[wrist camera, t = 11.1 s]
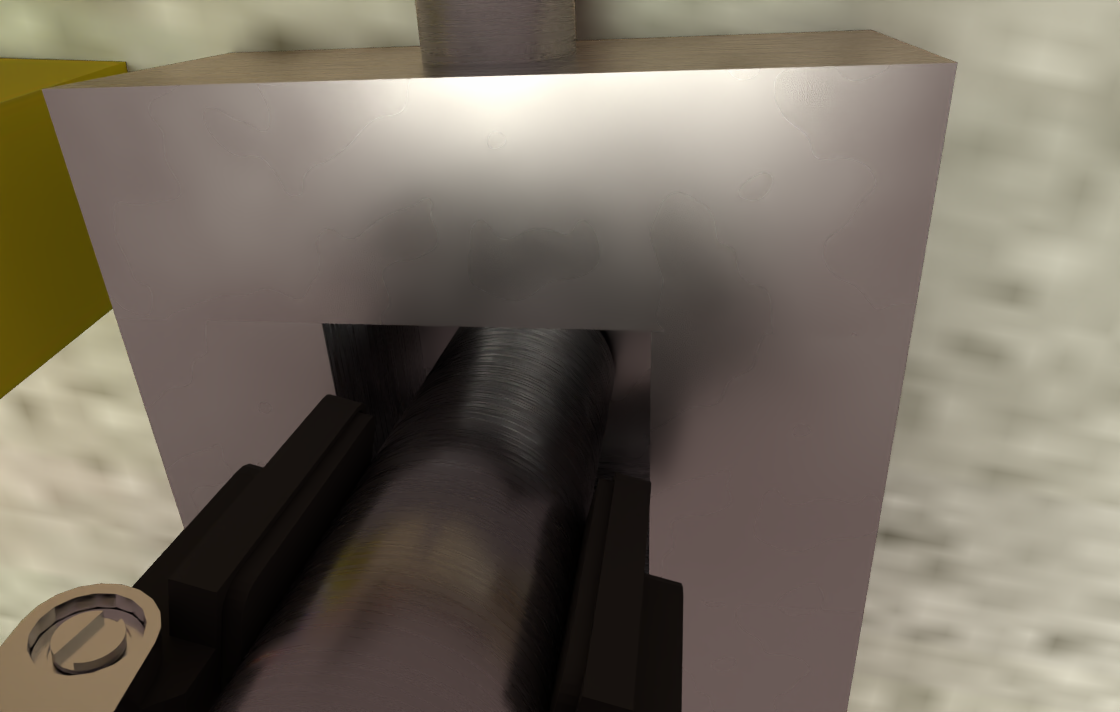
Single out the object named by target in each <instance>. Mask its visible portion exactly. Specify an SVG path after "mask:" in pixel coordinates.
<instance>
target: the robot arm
mask: <svg viewBox="0 0 1120 712" xmlns="http://www.w3.org/2000/svg"><path fill="white" fill-rule="evenodd" d="M375 427H376V418H375V417H374V416H371V415H368V414H366V406H365V404H364V403H360V402H357V401H353V400H349V399H346V398H342V397H338V396H335V395H331V394H328V395H326V396H325V397H324V398H323V399H322V400H321V401H320V402H319V403H318V404H317V406H316V407H315V408H314V409H313V410H312V411H311V413H310V414H309V415H308V416H307V417H306V418H305V420H304V421H303V422H302V423H301V424H300V425H299V427H298V428H297V429H296V430H295V431H294V432H293V434H292V435H291V436H290V437H289V438H288V439H287V441H286V442H285V443H284V444H283V445H282V446H281V448H280V449H279V450H278V451H277V452H276V453H275V455H274V456H273V457H272V458H271V459H270V460H269V462H268V463H267V464H266V465H265V466H264V467H260V466H257V465H253V464H247V465H243V466H242V467H241V468H240V469H239V470H238V471H237V472H236V473H235V474H234V475H233V476H232V477H231V478H230V479H229V480H228V481H227V483H226V484H225V485H224V486H223V487H222V488H221V489H220V490H219V491H218V493H217V494H216V495H215V496H214V497H213V498H212V499H211V500H210V501H209V502H208V504H207V505H206V506H205V507H204V508H203V509H202V510H201V511H200V512H199V514H198V515H197V516H196V517H195V518H194V519H193V520H192V521H191V522H190V523H189V525H188V526H187V527H186V528H185V529H184V530H183V531H182V532H181V533H180V535H179V536H178V537H177V538H176V539H175V540H174V541H173V542H172V543H171V545H170V546H169V547H168V548H167V549H166V550H165V551H164V552H163V553H162V554H161V556H160V557H159V558H158V559H157V560H156V561H155V562H154V563H153V564H152V566H151V567H150V568H149V569H148V570H147V571H146V572H145V573H144V574H143V575H142V577H141V578H140V579H139V580H138V581H137V582H136V583H135V584H134V585H133V587H129V586H125V585H122V584H103V583H101V584H94V585H88V586H81V587H77V588H74V589H71V590H68V591H66V592H63V593H60V594H57V595H55V596H54V597H52V598H50V599H48V600H47V601H45V602H43V603H42V604H40V605H38V606H37V607H36V608H35V609H34V610H32V611H31V612H30V613H29V614H28V615H27V616H26V617H25V618H24V619H23V620H22V621H21V622H20V623H19V624H18V626H17V627H16V628H15V629H14V630H13V632H12V633H11V634H10V635H9V637H8V638H7V639H6V640H5V641H4V643H3V644H2V645H1V646H0V712H209V711H210V709H211V708H212V706H213V705H214V703H215V702H216V700H217V699H218V697H219V696H220V694H221V693H222V691H223V689H224V688H225V686H226V685H227V683H228V682H229V680H230V679H231V677H232V676H233V674H234V673H235V671H236V669H237V668H238V666H239V665H240V663H241V662H242V660H243V659H244V657H245V656H246V654H247V653H248V651H249V649H250V648H251V646H252V645H253V643H254V642H255V640H256V639H257V637H258V636H259V634H260V633H261V631H262V629H263V628H264V626H265V625H266V623H267V622H268V620H269V619H270V617H271V616H272V614H273V612H274V611H275V609H276V608H277V606H278V605H279V603H280V602H281V600H282V599H283V597H284V596H285V594H286V592H287V591H288V589H289V588H290V586H291V585H292V583H293V582H294V580H295V579H296V577H297V576H298V574H299V572H300V571H301V569H302V568H303V566H304V565H305V563H306V562H307V560H308V559H309V557H310V556H311V554H312V552H313V551H314V549H315V548H316V546H317V545H318V543H319V542H320V540H321V539H322V537H323V536H324V534H325V532H326V531H327V529H328V528H329V526H330V525H331V523H332V522H333V520H334V519H335V517H336V516H337V514H338V512H339V511H340V509H341V508H342V506H343V505H344V503H345V502H346V500H347V499H348V497H349V496H350V494H351V492H352V491H353V489H354V488H355V486H356V485H357V483H358V482H359V480H360V479H361V477H362V476H363V474H364V472H365V471H366V469H367V468H368V466H369V465H370V463H371V459H372V451H373V443H374V435H375ZM650 497H651V482H650V481H647V480H643V479H639V478H636V477H632V476H628V475H625V474H621V473H617V472H616V473H615V474H614V477H613V480H612V481H610V480H606V479H602V478H599V480H598V483H597V486H596V489H595V492H594V496H593V499H592V502H591V506H590V509H589V512H588V516H587V519H586V523H585V528H584V533H583V538H582V543H581V548H580V553H579V559H578V564H577V569H576V574H575V579H574V584H573V589H572V595H571V600H570V605H569V610H568V615H567V620H566V625H565V631H564V636H563V641H562V646H561V651H560V656H559V661H558V666H557V672H556V677H555V682H554V687H553V692H552V697H551V702H550V708H549V712H682V659H683V597H684V595H683V586H682V583H679V582H676V581H672V580H669V579H665V578H661V577H658V576H654V575H651V574H647V573H644V570H645V558H646V546H647V533H648V521H649V509H650Z"/></svg>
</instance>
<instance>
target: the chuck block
mask: <svg viewBox="0 0 1120 712" xmlns="http://www.w3.org/2000/svg"><path fill="white" fill-rule="evenodd" d="M415 5H416V13H417V22H418V30H419V39H420V46H407V47H379V48H351V49H323V50H295V51H268V52H240V53H227V54H221V55H216V56H211V57H206V58H201V59H196V60H190V61H185V62H180V63H175V64H170V65H164V66H159V67H154V68H149V69H144V70H139V71H133V72H128V73H123V74H118V75H113V76H107V77H102V78H97V79H92V80H87V81H82V82H76V83H71V84H66V85H61V86H56V87H50V88H45V89H42V92H43V95H44V98H45V101H46V104H47V107H48V111H49V114H50V117H51V120H52V123H53V126H54V129H55V132H56V135H57V138H58V141H59V144H60V147H61V151H62V154H63V157H64V160H65V163H66V166H67V169H68V172H69V175H70V178H71V181H72V184H73V187H74V191H75V194H76V197H77V200H78V203H79V206H80V209H81V212H82V215H83V218H84V221H85V224H86V227H87V231H88V234H89V237H90V240H91V243H92V246H93V249H94V252H95V255H96V258H97V261H98V264H99V267H100V271H101V274H102V277H103V280H104V283H105V286H106V289H107V292H108V295H109V298H110V301H111V304H112V307H113V311H114V314H115V317H116V320H117V323H118V326H119V329H120V332H121V335H122V338H123V341H124V344H125V347H126V350H127V354H128V357H129V360H130V363H131V366H132V369H133V372H134V375H135V378H136V381H137V384H138V387H139V390H140V394H141V397H142V400H143V403H144V406H145V409H146V412H147V415H148V418H149V421H150V424H151V427H152V430H153V434H154V437H155V440H156V443H157V446H158V449H159V452H160V455H161V458H162V461H163V464H164V467H165V470H166V474H167V477H168V480H169V483H170V486H171V489H172V492H173V495H174V498H175V501H176V504H177V507H178V510H179V514H180V517H181V520H182V523H183V526H184V529H185V528H186V527H187V526H188V525H189V523H190V522H191V521H192V520H193V519H194V518H195V517H196V516H197V515H198V514H199V512H200V511H201V510H202V509H203V508H204V507H205V506H206V505H207V504H208V502H209V501H210V500H211V499H212V498H213V497H214V496H215V495H216V494H217V493H218V491H219V490H220V489H221V488H222V487H223V486H224V485H225V484H226V483H227V481H228V480H229V479H230V478H231V477H232V476H233V475H234V474H235V473H236V472H237V471H238V470H239V469H240V468H241V467H242V466H243V465H247V464H253V465H257V466H260V467H264V466H265V465H266V464H267V463H268V462H269V460H270V459H271V458H272V457H273V456H274V455H275V453H276V452H277V451H278V450H279V449H280V448H281V446H282V445H283V444H284V443H285V442H286V441H287V439H288V438H289V437H290V436H291V435H292V434H293V432H294V431H295V430H296V429H297V428H298V427H299V425H300V424H301V423H302V422H303V421H304V420H305V418H306V417H307V416H308V415H309V414H310V413H311V411H312V410H313V409H314V408H315V407H316V406H317V404H318V403H319V402H320V401H321V400H322V399H323V398H324V397H325V396H326V395H328V394H331V395H335V396H338V397H342V398H346V399H349V400H353V401H357V402H360V403H364V404H365V406H366V414H368V415H371V416H374V417H375V418H376V427H375V435H374V443H373V451H372V459H371V462H372V460H373V459H374V457H375V456H376V454H377V452H378V451H379V449H380V448H381V446H382V445H383V443H384V442H385V440H386V439H387V437H388V436H389V434H390V432H391V431H392V429H393V428H394V426H395V425H396V423H397V422H398V420H399V419H400V417H401V416H402V414H403V412H404V411H405V409H406V408H407V406H408V405H409V403H410V402H411V400H412V399H413V397H414V396H415V394H416V392H417V391H418V389H419V388H420V386H421V385H422V383H423V382H424V380H425V379H426V377H427V376H428V374H429V372H430V371H431V369H432V368H433V366H434V365H435V363H436V362H437V360H438V359H439V357H440V356H441V354H442V352H443V351H444V349H445V348H446V346H447V345H448V343H449V342H450V340H451V339H452V337H453V336H454V334H455V332H456V331H457V329H458V328H459V327H502V328H546V329H589V330H599V331H600V333H601V334H602V336H603V337H604V339H605V341H606V343H607V345H608V347H609V350H610V352H611V355H612V359H613V364H614V386H613V391H612V397H611V402H610V407H609V412H608V418H607V423H606V428H605V433H604V439H603V444H602V449H601V454H600V460H599V465H598V470H597V475H596V481H595V486H594V491H593V496H594V492H595V489H596V486H597V483H598V480H599V478H602V479H606V480H610V481H612V480H613V477H614V474H615V473H616V472H617V473H621V474H625V475H628V476H632V477H636V478H639V479H643V480H647V481H650V482H651V497H650V509H649V521H648V533H647V546H646V558H645V570H644V573H647V574H651V575H654V576H658V577H661V578H665V579H669V580H672V581H676V582H679V583H682V586H683V595H684V597H683V659H682V712H847V707H848V701H849V695H850V689H851V683H852V677H853V672H854V666H855V660H856V654H857V648H858V642H859V636H860V631H861V625H862V619H863V613H864V607H865V601H866V595H867V590H868V584H869V578H870V572H871V566H872V560H873V554H874V549H875V543H876V537H877V531H878V525H879V519H880V513H881V508H882V502H883V496H884V490H885V484H886V478H887V472H888V467H889V461H890V455H891V449H892V443H893V437H894V431H895V426H896V420H897V414H898V408H899V402H900V396H901V390H902V385H903V379H904V373H905V367H906V361H907V355H908V349H909V344H910V338H911V332H912V326H913V320H914V314H915V308H916V303H917V297H918V291H919V285H920V279H921V273H922V267H923V262H924V256H925V250H926V244H927V238H928V232H929V226H930V221H931V215H932V209H933V203H934V197H935V191H936V185H937V180H938V174H939V168H940V162H941V156H942V150H943V144H944V139H945V133H946V127H947V121H948V115H949V109H950V103H951V98H952V92H953V86H954V80H955V74H956V68H957V62H954V61H952V60H949V59H946V58H944V57H941V56H939V55H936V54H933V53H931V52H928V51H925V50H923V49H920V48H918V47H915V46H912V45H910V44H907V43H904V42H902V41H899V40H897V39H894V38H891V37H889V36H886V35H883V34H881V33H878V32H876V31H873V30H855V31H827V32H799V33H771V34H743V35H715V36H687V37H659V38H631V39H603V40H576V27H575V0H415ZM593 496H592V499H593Z"/></svg>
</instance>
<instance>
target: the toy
mask: <svg viewBox="0 0 1120 712" xmlns="http://www.w3.org/2000/svg"><path fill="white" fill-rule="evenodd" d="M123 73H128V71H127V67H126V62H120V61H83V60H47V59H10V58H0V399H1V398H2V397H3V396H5V395H6V394H7V393H8V392H10V391H11V390H12V389H13V388H15V387H16V386H17V385H18V384H20V383H21V382H22V381H23V380H25V379H26V378H27V377H28V376H30V375H31V374H32V373H33V372H34V371H36V370H37V369H38V368H39V367H41V366H42V365H43V364H44V363H46V362H47V361H48V360H49V359H51V358H52V357H53V356H54V355H56V354H57V353H58V352H59V351H61V350H62V349H63V348H64V347H65V346H67V345H68V344H69V343H70V342H72V341H73V340H74V339H75V338H77V337H78V336H79V335H80V334H82V333H83V332H84V331H85V330H87V329H88V328H89V327H90V326H92V325H93V324H94V323H95V322H96V321H98V320H99V319H100V318H101V317H103V316H104V315H105V314H106V313H108V312H109V311H110V310H111V309H113V307H112V304H111V301H110V298H109V295H108V292H107V289H106V286H105V283H104V280H103V277H102V274H101V271H100V267H99V264H98V261H97V258H96V255H95V252H94V249H93V246H92V243H91V240H90V237H89V234H88V231H87V227H86V224H85V221H84V218H83V215H82V212H81V209H80V206H79V203H78V200H77V197H76V194H75V191H74V187H73V184H72V181H71V178H70V175H69V172H68V169H67V166H66V163H65V160H64V157H63V154H62V151H61V147H60V144H59V141H58V138H57V135H56V132H55V129H54V126H53V123H52V120H51V117H50V114H49V111H48V107H47V104H46V101H45V98H44V95H43V92H42V89H45V88H50V87H56V86H61V85H66V84H71V83H76V82H82V81H87V80H92V79H97V78H102V77H107V76H113V75H118V74H123Z"/></svg>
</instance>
